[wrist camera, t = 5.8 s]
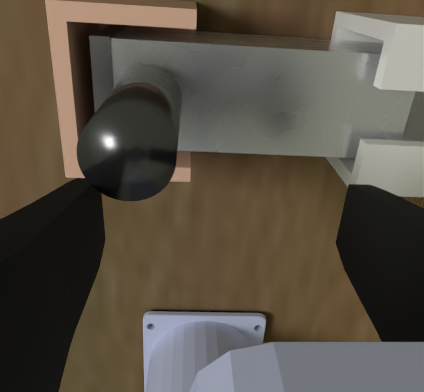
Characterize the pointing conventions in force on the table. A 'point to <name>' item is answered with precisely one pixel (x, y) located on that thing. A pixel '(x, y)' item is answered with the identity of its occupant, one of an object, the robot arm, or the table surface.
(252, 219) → the table surface
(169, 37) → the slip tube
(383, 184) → the white channel beam
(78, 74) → the socket
